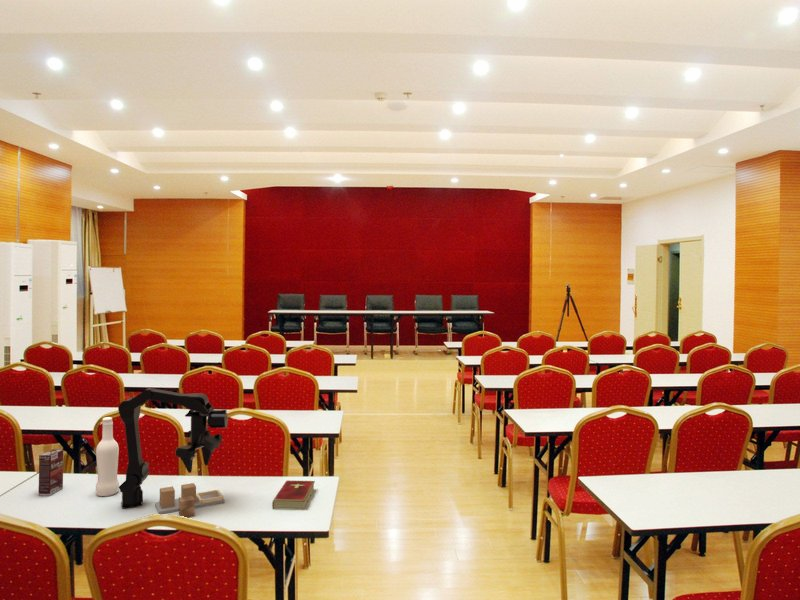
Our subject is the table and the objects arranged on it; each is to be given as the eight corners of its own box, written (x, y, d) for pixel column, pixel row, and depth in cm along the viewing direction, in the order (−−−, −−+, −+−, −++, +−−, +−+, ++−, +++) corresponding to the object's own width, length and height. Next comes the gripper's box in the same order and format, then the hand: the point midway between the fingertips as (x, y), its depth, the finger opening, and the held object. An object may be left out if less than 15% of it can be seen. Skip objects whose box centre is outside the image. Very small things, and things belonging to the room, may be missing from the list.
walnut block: (180, 518, 196) (181, 501, 196) (178, 514, 200) (178, 497, 200) (194, 516, 199) (194, 499, 198) (191, 511, 202) (191, 495, 202)
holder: (158, 514, 199) (158, 495, 199) (155, 505, 208) (155, 486, 208) (224, 502, 211) (224, 484, 211) (218, 494, 220) (218, 476, 220)
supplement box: (50, 496, 215) (50, 455, 215) (37, 496, 215) (38, 455, 215) (64, 488, 224) (64, 449, 224) (52, 488, 224) (52, 449, 224)
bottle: (123, 490, 223) (123, 415, 222) (110, 497, 215) (111, 420, 214) (104, 489, 224) (104, 414, 223) (91, 496, 216) (91, 419, 215)
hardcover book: (272, 510, 206) (272, 499, 206) (285, 490, 227) (285, 479, 227) (304, 511, 205) (304, 499, 205) (314, 490, 226) (314, 480, 226)
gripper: (199, 436, 198) (199, 479, 199) (232, 424, 216) (231, 464, 216) (174, 432, 202) (173, 475, 202) (208, 421, 220) (207, 460, 220)
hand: (198, 468), depth 210 cm, fingers open, 9 cm apart
